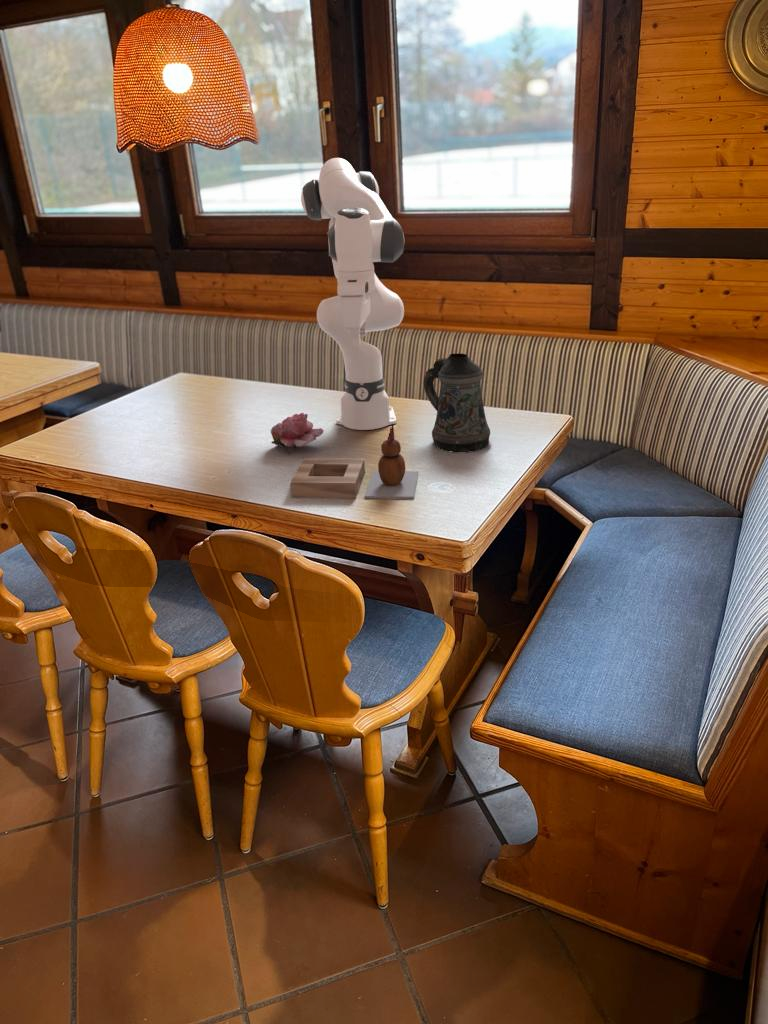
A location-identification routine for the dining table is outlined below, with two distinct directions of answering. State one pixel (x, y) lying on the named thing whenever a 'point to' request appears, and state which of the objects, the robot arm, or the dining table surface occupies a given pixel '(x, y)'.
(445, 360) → the beer stein
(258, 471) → the dining table surface
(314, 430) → the flower
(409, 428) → the dining table surface
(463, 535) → the dining table surface
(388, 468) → the wooden figurine
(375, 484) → the slate mat
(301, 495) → the walnut socket block
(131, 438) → the dining table surface
